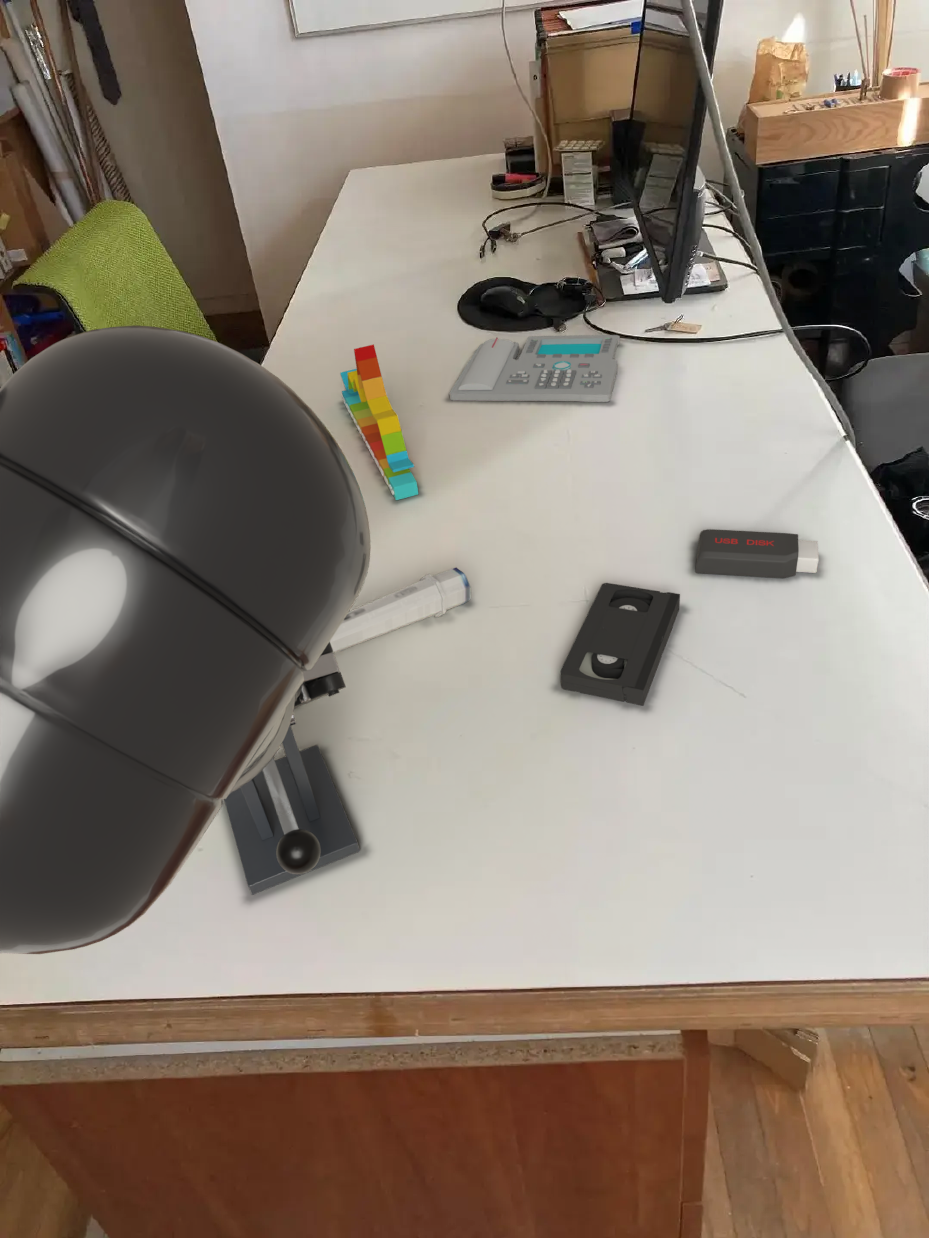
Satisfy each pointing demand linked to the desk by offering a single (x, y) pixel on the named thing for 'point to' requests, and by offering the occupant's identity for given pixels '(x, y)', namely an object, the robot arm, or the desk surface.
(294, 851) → the lever with ball knob
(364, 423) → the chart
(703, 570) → the usb drive
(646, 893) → the desk surface
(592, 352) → the office telephone
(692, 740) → the desk surface
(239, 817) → the dark grey pivot stand
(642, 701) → the vhs tape
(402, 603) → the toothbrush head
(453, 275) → the desk surface
